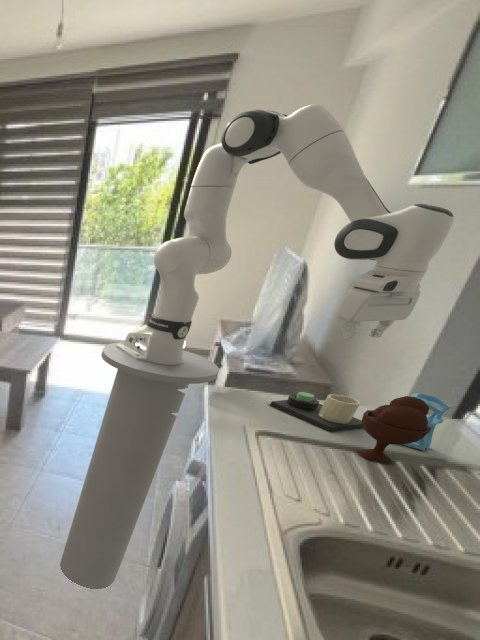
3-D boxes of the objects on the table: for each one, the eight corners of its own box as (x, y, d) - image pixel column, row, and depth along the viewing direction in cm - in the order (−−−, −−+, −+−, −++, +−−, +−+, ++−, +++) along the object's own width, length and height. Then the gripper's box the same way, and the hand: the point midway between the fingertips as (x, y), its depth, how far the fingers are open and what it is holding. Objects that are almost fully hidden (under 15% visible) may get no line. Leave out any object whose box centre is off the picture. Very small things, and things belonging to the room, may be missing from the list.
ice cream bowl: (339, 441, 117) (372, 384, 110) (401, 456, 111) (440, 397, 104) (345, 458, 109) (381, 398, 102) (412, 475, 103) (454, 413, 96)
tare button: (292, 398, 133) (295, 392, 132) (301, 397, 134) (304, 391, 133) (305, 403, 130) (308, 397, 129) (315, 402, 131) (318, 396, 130)
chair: (419, 452, 113) (450, 407, 107) (375, 437, 119) (402, 393, 114) (433, 446, 116) (464, 401, 110) (389, 431, 123) (416, 388, 117)
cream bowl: (312, 413, 127) (322, 395, 125) (329, 412, 129) (339, 393, 126) (338, 424, 122) (349, 405, 119) (355, 422, 124) (366, 403, 121)
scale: (269, 405, 135) (274, 395, 133) (303, 401, 138) (308, 392, 136) (329, 431, 121) (335, 421, 120) (365, 427, 124) (372, 416, 123)
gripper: (407, 277, 118) (375, 332, 125) (348, 278, 113) (318, 334, 120) (438, 283, 113) (404, 340, 120) (378, 284, 108) (345, 343, 115)
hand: (360, 337), depth 120 cm, fingers open, 8 cm apart
